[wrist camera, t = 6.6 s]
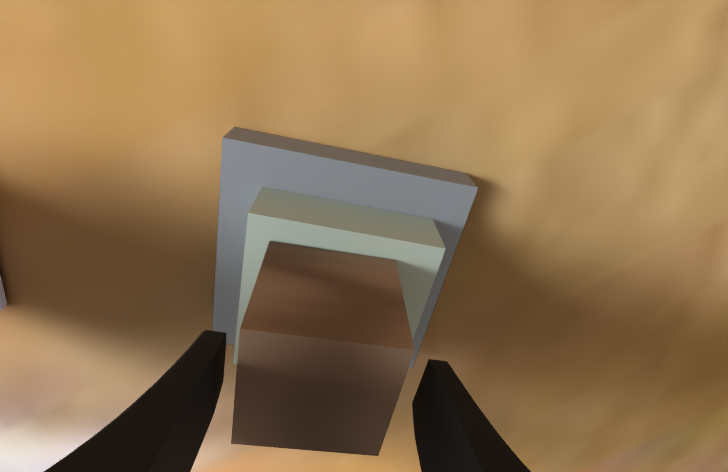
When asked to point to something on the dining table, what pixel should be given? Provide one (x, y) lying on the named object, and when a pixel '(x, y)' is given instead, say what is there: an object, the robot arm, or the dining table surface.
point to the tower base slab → (330, 181)
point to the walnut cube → (321, 352)
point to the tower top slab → (342, 241)
